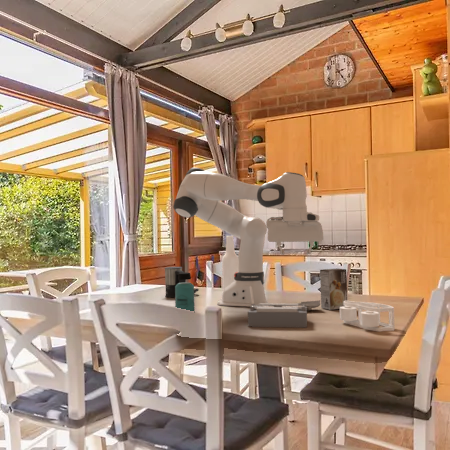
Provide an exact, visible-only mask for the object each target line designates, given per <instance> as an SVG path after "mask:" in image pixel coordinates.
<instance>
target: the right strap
mask: <svg viewBox="0 0 450 450" xmlns="http://www.w3.org/2000/svg"><path fill="white" fill-rule="evenodd" d="M303 306H304V305H303ZM282 307H292V308H298V309H302V306H282Z"/></svg>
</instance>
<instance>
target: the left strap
mask: <svg viewBox="0 0 450 450" xmlns="http://www.w3.org/2000/svg"><path fill="white" fill-rule="evenodd" d="M252 306H254V309H257V307H274V306H259V305H252Z"/></svg>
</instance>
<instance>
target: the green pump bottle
mask: <svg viewBox="0 0 450 450" xmlns="http://www.w3.org/2000/svg"><path fill="white" fill-rule="evenodd" d="M178 279H179V280H186V281H187V280H191V279H192V277H191V272H185V271H184V273H179V277H178ZM194 289H195V285H194V284H193V283H191V282H185V283H178V284H177V285H176V286H175V297H174V298H175V299H174V303H175V306H174V308H175V307H177V308H181V309H186V310H190V311H194V312H195V309H196V308H195V294H194Z"/></svg>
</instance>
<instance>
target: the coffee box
mask: <svg viewBox="0 0 450 450" xmlns="http://www.w3.org/2000/svg"><path fill="white" fill-rule="evenodd" d="M319 278H320V279H319V280H320V306H321V307H320V308H321V309H325V310H329V311H333V310H338V309H339V310H340V307H343V306H345V305H344V303H343V301H348V281H347V280H348V279H347V269H346V268H338V267H337V268H325V269H323V268H322V269H319Z"/></svg>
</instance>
